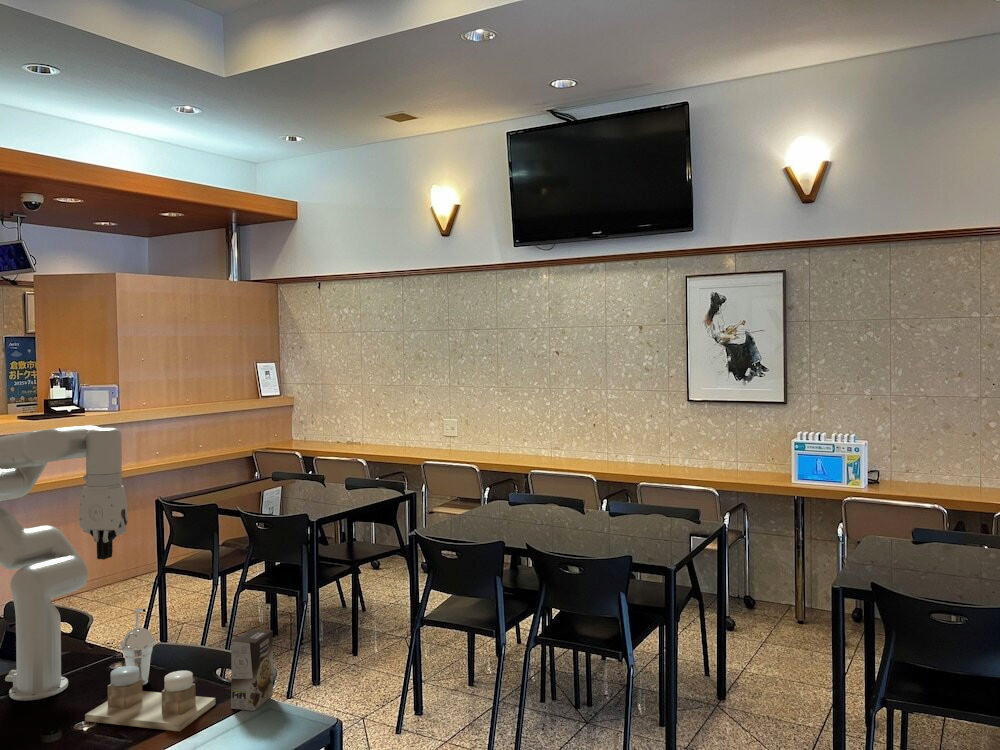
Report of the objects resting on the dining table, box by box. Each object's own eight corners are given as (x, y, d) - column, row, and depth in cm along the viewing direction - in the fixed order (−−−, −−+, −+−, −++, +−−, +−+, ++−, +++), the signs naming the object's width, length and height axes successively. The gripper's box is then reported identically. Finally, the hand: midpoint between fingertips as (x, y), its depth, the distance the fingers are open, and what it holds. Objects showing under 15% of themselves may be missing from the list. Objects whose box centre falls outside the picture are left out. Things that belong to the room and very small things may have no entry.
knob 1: (105, 706, 182) (104, 674, 182) (122, 696, 188) (122, 664, 188) (127, 709, 181) (127, 676, 180) (144, 698, 186) (144, 666, 186)
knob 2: (159, 712, 179) (158, 679, 179) (175, 701, 185) (174, 669, 185) (182, 714, 178) (182, 681, 178) (198, 703, 184) (197, 671, 183)
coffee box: (255, 711, 183) (255, 642, 183) (230, 709, 185) (229, 640, 184) (274, 695, 192) (273, 629, 192) (250, 693, 193) (249, 627, 193)
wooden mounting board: (85, 721, 178) (84, 692, 178) (126, 695, 192) (126, 668, 192) (179, 731, 173) (179, 702, 173) (215, 704, 187) (215, 677, 187)
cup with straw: (158, 674, 205) (158, 598, 204) (153, 688, 196) (152, 608, 196) (123, 678, 202) (122, 600, 202) (116, 692, 194) (115, 611, 193)
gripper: (64, 481, 183) (65, 560, 184) (121, 484, 180) (121, 563, 181) (87, 477, 191) (88, 552, 191) (142, 479, 188) (143, 555, 188)
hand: (104, 557), depth 186 cm, fingers closed
